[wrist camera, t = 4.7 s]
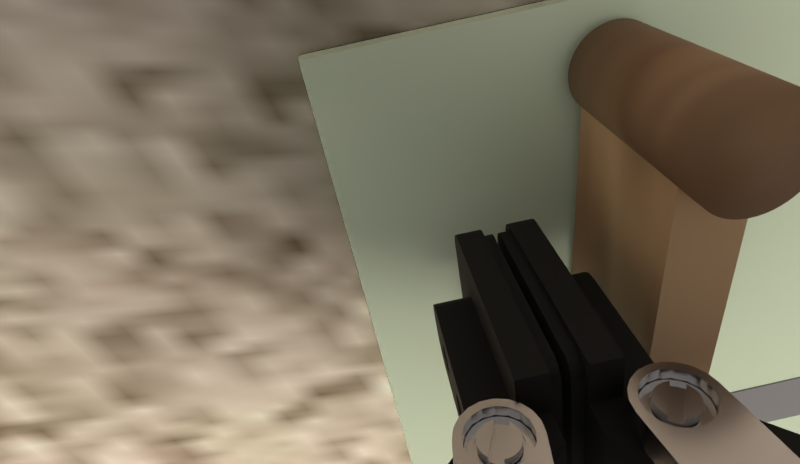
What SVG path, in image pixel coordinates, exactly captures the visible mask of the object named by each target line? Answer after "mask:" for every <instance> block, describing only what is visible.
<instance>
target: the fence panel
mask: <svg viewBox="0 0 800 464" xmlns="http://www.w3.org/2000/svg"><path fill="white" fill-rule="evenodd" d="M568 84H569V89H570V92H571V94H572V96H573V98H574V100H575V101H576V102H577V103H578V104H579V105H580V106H581V122H580V139H579V156H578V173H577V191H576V208H575V225H574V242H573V260H572V274H577V273H581V272H587V273H589V274H590V275H591V276H592V277H593V278H594V279H595V281H596V282H597V284H598V285H599V286H600V288H601V289H602V291H603V292H604V293H605V295H606V296H607V298H608V299H609V300H610V302H611V303H612V305H613V306H614V307H615V309H616V310H617V312H618V313H619V314H620V316H621V317H622V319H623V320H624V321H625V323H626V324H627V326H628V327H629V328H630V330H631V331H632V333H633V334H634V335H635V337H636V338H637V340H638V341H639V342H640V344H641V345H642V347H643V348H644V349H645V351H646V352H647V354H648V355H649V356H650V358H651V359H652V361H653V362H654V363H657V362H678V363H682V364H686V365H691V366H693V367H695V368H698V369H700V370H702V371H704V372H706V373H708V374H709V371H710V367H711V363H712V359H713V355H714V351H715V347H716V343H717V339H718V335H719V331H720V327H721V324H722V320H723V316H724V312H725V308H726V304H727V300H728V296H729V292H730V288H731V284H732V280H733V276H734V272H735V268H736V264H737V260H738V256H739V252H740V248H741V244H742V240H743V236H744V232H745V228H746V224H747V220H748V218H752V217H756V216H760V215H763V214H765V213H768V212H770V211H772V210H774V209H776V208H778V207H780V206H781V205H783V204H785V203H786V202H788V201H789V200H790V199H792V198H793V197H794V196H796V195H797V194H798V193H799V192H800V86H797V85H795V84H792V83H790V82H787V81H785V80H783V79H780V78H778V77H775V76H773V75H770V74H768V73H765V72H763V71H761V70H758V69H756V68H753V67H751V66H748V65H746V64H743V63H741V62H738V61H736V60H734V59H731V58H729V57H726V56H724V55H721V54H719V53H716V52H714V51H712V50H709V49H707V48H704V47H702V46H699V45H697V44H694V43H692V42H690V41H687V40H685V39H682V38H680V37H677V36H675V35H672V34H670V33H667V32H665V31H663V30H660V29H658V28H655V27H653V26H650V25H648V24H645V23H643V22H641V21H638V20H635V19H630V18H621V19H615V20H611V21H608V22H605V23H603V24H601V25H600V26H598V27H596V28H595V29H593V30H592V31H591V32H590V33H589V34H588V35H587V36H586V37H585V38H584V39H583V40H582V41H581V42H580V44H579V45H578V47H577V48H576V50H575V52H574V54H573V56H572V59H571V61H570V65H569V70H568Z"/></svg>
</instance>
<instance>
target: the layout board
mask: <svg viewBox="0 0 800 464" xmlns="http://www.w3.org/2000/svg"><path fill="white" fill-rule="evenodd" d="M621 18H630V19H635V20H638V21H641V22H643V23H645V24H648V25H650V26H653V27H655V28H658V29H660V30H663V31H665V32H667V33H670V34H672V35H675V36H677V37H680V38H682V39H685V40H687V41H690V42H692V43H694V44H697V45H699V46H702V47H704V48H707V49H709V50H712V51H714V52H716V53H719V54H721V55H724V56H726V57H729V58H731V59H734V60H736V61H738V62H741V63H743V64H746V65H748V66H751V67H753V68H756V69H758V70H761V71H763V72H765V73H768V74H770V75H773V76H775V77H778V78H780V79H783V80H785V81H787V82H790V83H792V84H795V85H797V86H800V0H546V1H541V2H537V3H532V4H528V5H523V6H519V7H514V8H510V9H505V10H501V11H496V12H492V13H487V14H483V15H478V16H474V17H469V18H465V19H460V20H456V21H451V22H447V23H442V24H438V25H433V26H429V27H424V28H420V29H415V30H411V31H406V32H402V33H397V34H393V35H388V36H384V37H379V38H375V39H370V40H366V41H361V42H357V43H352V44H348V45H343V46H339V47H334V48H330V49H325V50H321V51H316V52H312V53H307V54H303V55H299V59H298V62H299V65H300V69H301V72H302V76H303V79H304V83H305V87H306V90H307V94H308V97H309V101H310V104H311V108H312V111H313V115H314V118H315V122H316V125H317V129H318V132H319V136H320V140H321V143H322V147H323V150H324V154H325V157H326V161H327V164H328V168H329V171H330V175H331V178H332V182H333V186H334V189H335V193H336V196H337V200H338V203H339V207H340V210H341V214H342V217H343V221H344V224H345V228H346V232H347V235H348V239H349V242H350V246H351V249H352V253H353V256H354V260H355V263H356V267H357V270H358V274H359V277H360V281H361V285H362V288H363V292H364V295H365V299H366V302H367V306H368V309H369V313H370V316H371V320H372V323H373V327H374V331H375V334H376V338H377V341H378V345H379V348H380V352H381V355H382V359H383V362H384V366H385V369H386V373H387V377H388V380H389V384H390V387H391V391H392V394H393V398H394V401H395V405H396V408H397V412H398V415H399V419H400V422H401V426H402V430H403V433H404V437H405V440H406V444H407V447H408V451H409V454H410V458H411V461H412V464H448V463H449V462H450V460H451V459H452V458H453V453H452V433H453V427H454V425H455V423H456V421H457V419H458V417H459V416H458V413H457V409H456V405H455V401H454V398H453V394H452V390H451V387H450V383H449V379H448V375H447V372H446V368H445V364H444V359H443V355H442V351H441V346H440V341H439V337H438V331H437V326H436V320H435V315H434V308H433V304H438V303H442V302H447V301H452V300H456V299H461V298H463V297H462V290H461V283H460V276H459V269H458V261H457V254H456V247H455V235H457V234H462V233H467V232H471V231H476V230H482V232H483V234H484V236H486V235H491V234H493V236H494V237H495V239H496V241H497V243H498V238H497V236H498V233H501V232H505V228H506V225H507V224H509V223H514V222H518V221H523V220H528V219H534V220H535V221H536V222H537V224H538V225H539V227H540V228H541V230H542V231H543V233H544V234H545V236H546V237H547V239H548V240H549V242H550V243H551V245H552V246H553V248H554V249H555V251H556V252H557V254H558V255H559V257H560V258H561V260H562V261H563V263H564V264H565V266H566V267H567V269H568V270H569V272H570V273H571V275H572V260H573V242H574V225H575V208H576V191H577V173H578V156H579V139H580V122H581V106H580V105H579V104H578V103H577V102H576V101H575V100H574V98H573V96H572V94H571V92H570V89H569V84H568V70H569V65H570V61H571V59H572V56H573V54H574V52H575V50H576V48H577V47H578V45H579V44H580V42H581V41H582V40H583V39H584V38H585V37H586V36H587V35H588V34H589V33H590V32H591V31H592V30H593V29H595V28H596V27H598V26H600V25H601V24H603V23H605V22H608V21H611V20H615V19H621ZM709 375H710V376H712V377H713V378H714V379H716V380H717V381H718V382H719V383H720V384H722V385H723V386H724V387H725V388H726V389H727V390H728V391H729V392H730V393H731V394H732V395H733V396H734V397H735V398H736V399H737V400H738V401H740V402H741V403H742V404H743V405H744V406H745V407H746V408H747V409H748V410H749V411H750V412H751V413H752V414H753V415H754V416H755V417H756V418H757V419H759V420H761V421H764V422H767V423H770V424H773V425H775V426H778V427H781V428H784V429H786V430H789V431H792V432H795V433H798V434H800V192H799V193H798V194H797V195H796V196H794V197H793V198H792V199H790V200H789V201H788V202H786V203H785V204H783V205H781V206H780V207H778V208H776V209H774V210H772V211H770V212H768V213H765V214H763V215H760V216H756V217H752V218H748V220H747V224H746V228H745V232H744V236H743V240H742V244H741V248H740V252H739V256H738V260H737V264H736V268H735V272H734V276H733V280H732V284H731V288H730V292H729V296H728V300H727V304H726V308H725V312H724V316H723V320H722V324H721V327H720V331H719V335H718V339H717V343H716V347H715V351H714V355H713V359H712V363H711V367H710V371H709Z"/></svg>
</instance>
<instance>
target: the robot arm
mask: <svg viewBox="0 0 800 464" xmlns="http://www.w3.org/2000/svg"><path fill="white" fill-rule="evenodd" d="M497 238H498V243H497V241H496V239H495V237H494V236H493V234H491V235H486V236H484V234H483V232H482V230H476V231H471V232H467V233H462V234H457V235H455V247H456V254H457V261H458V269H459V276H460V283H461V290H462V297H463V298H461V299H456V300H452V301H447V302H442V303H438V304H433V308H434V315H435V320H436V326H437V331H438V337H439V341H440V346H441V351H442V355H443V359H444V364H445V368H446V372H447V375H448V379H449V383H450V387H451V390H452V394H453V398H454V401H455V405H456V409H457V413H458V416H459V417H458V419H457V421H456V423H455V425H454V427H453V433H452V453H453V458H452V459H451V460H450V462H449V463H448V464H800V434H798V433H795V432H792V431H789V430H786V429H784V428H781V427H778V426H775V425H773V424H770V423H767V422H764V421H761V420H759V419H757V418H756V417H755V416H754V415H753V414H752V413H751V412H750V411H749V410H748V409H747V408H746V407H745V406H744V405H743V404H742V403H741V402H740V401H738V400H737V399H736V398H735V397H734V396H733V395H732V394H731V393H730V392H729V391H728V390H727V389H726V388H725V387H724V386H723V385H722V384H720V383H719V382H718V381H717V380H716V379H714V378H713V377H712V376H710V375H709V374H708V373H706V372H704V371H702V370H700V369H698V368H695V367H693V366H691V365H686V364H682V363H678V362H657V363H654V362H653V361H652V359H651V358H650V356H649V355H648V354H647V352H646V351H645V349H644V348H643V347H642V345H641V344H640V342H639V341H638V340H637V338H636V337H635V335H634V334H633V333H632V331H631V330H630V328H629V327H628V326H627V324H626V323H625V321H624V320H623V319H622V317H621V316H620V314H619V313H618V312H617V310H616V309H615V307H614V306H613V305H612V303H611V302H610V300H609V299H608V298H607V296H606V295H605V293H604V292H603V291H602V289H601V288H600V286H599V285H598V284H597V282H596V281H595V279H594V278H593V277H592V276H591V275H590V274H589V273H587V272H581V273H577V274H572V275H571V273H570V272H569V270H568V269H567V267H566V266H565V264H564V263H563V261H562V260H561V258H560V257H559V255H558V254H557V252H556V251H555V249H554V248H553V246H552V245H551V243H550V242H549V240H548V239H547V237H546V236H545V234H544V233H543V231H542V230H541V228H540V227H539V225H538V224H537V222H536V221H535V220H534V219H528V220H523V221H518V222H514V223H509V224H507V225H506V228H505V232H501V233H498V236H497Z"/></svg>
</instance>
